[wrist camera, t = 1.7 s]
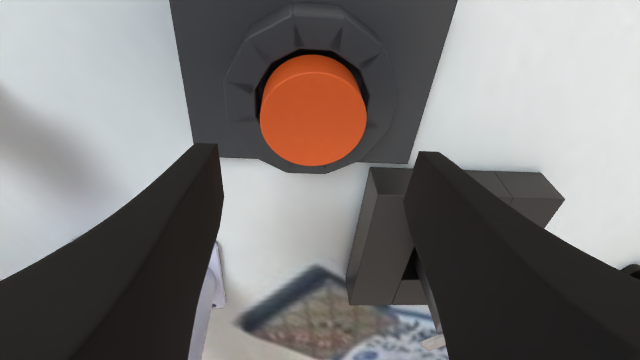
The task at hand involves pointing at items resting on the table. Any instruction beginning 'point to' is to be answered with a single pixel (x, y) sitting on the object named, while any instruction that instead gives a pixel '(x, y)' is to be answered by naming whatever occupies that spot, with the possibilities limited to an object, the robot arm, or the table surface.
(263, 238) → the table surface
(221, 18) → the control block
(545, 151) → the table surface
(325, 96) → the button
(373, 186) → the blender base
